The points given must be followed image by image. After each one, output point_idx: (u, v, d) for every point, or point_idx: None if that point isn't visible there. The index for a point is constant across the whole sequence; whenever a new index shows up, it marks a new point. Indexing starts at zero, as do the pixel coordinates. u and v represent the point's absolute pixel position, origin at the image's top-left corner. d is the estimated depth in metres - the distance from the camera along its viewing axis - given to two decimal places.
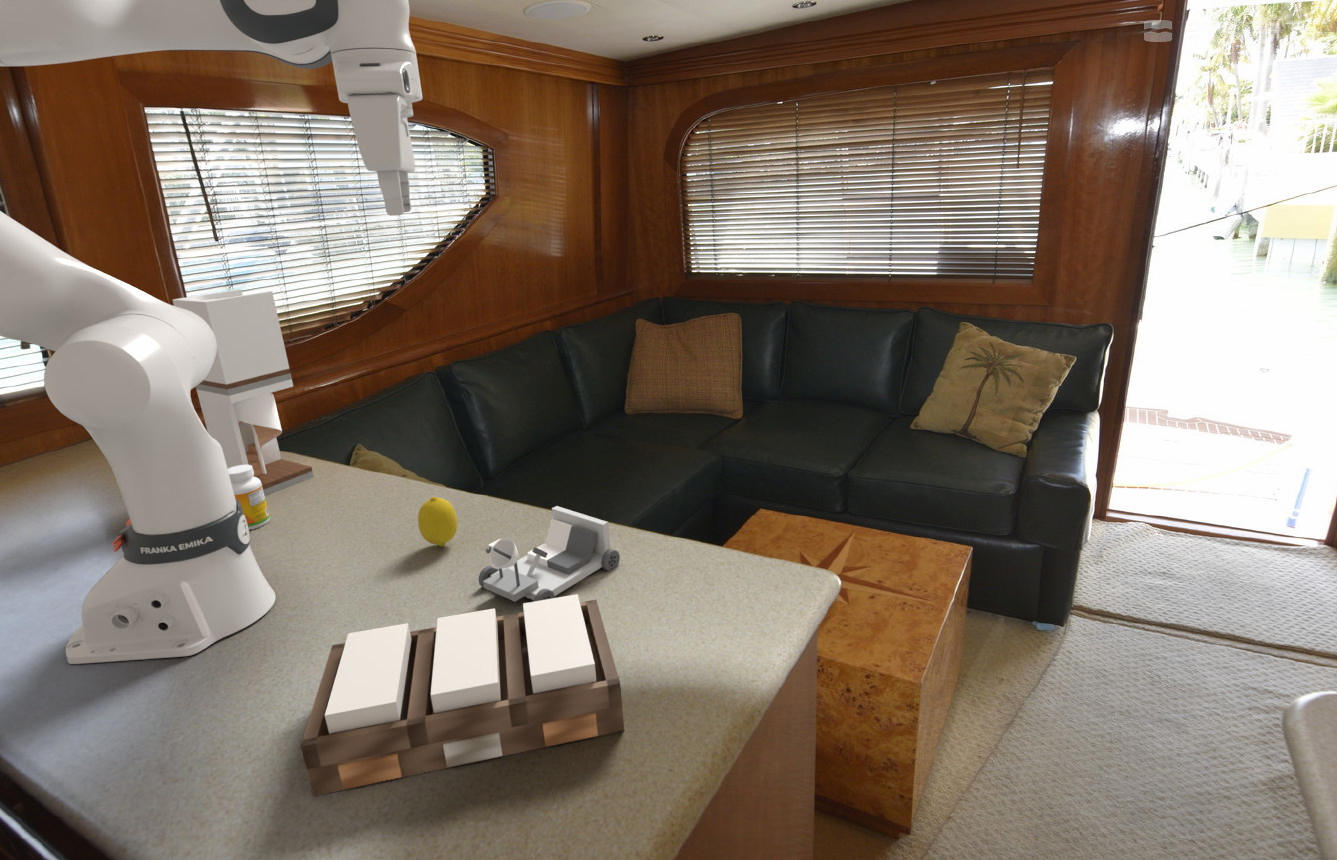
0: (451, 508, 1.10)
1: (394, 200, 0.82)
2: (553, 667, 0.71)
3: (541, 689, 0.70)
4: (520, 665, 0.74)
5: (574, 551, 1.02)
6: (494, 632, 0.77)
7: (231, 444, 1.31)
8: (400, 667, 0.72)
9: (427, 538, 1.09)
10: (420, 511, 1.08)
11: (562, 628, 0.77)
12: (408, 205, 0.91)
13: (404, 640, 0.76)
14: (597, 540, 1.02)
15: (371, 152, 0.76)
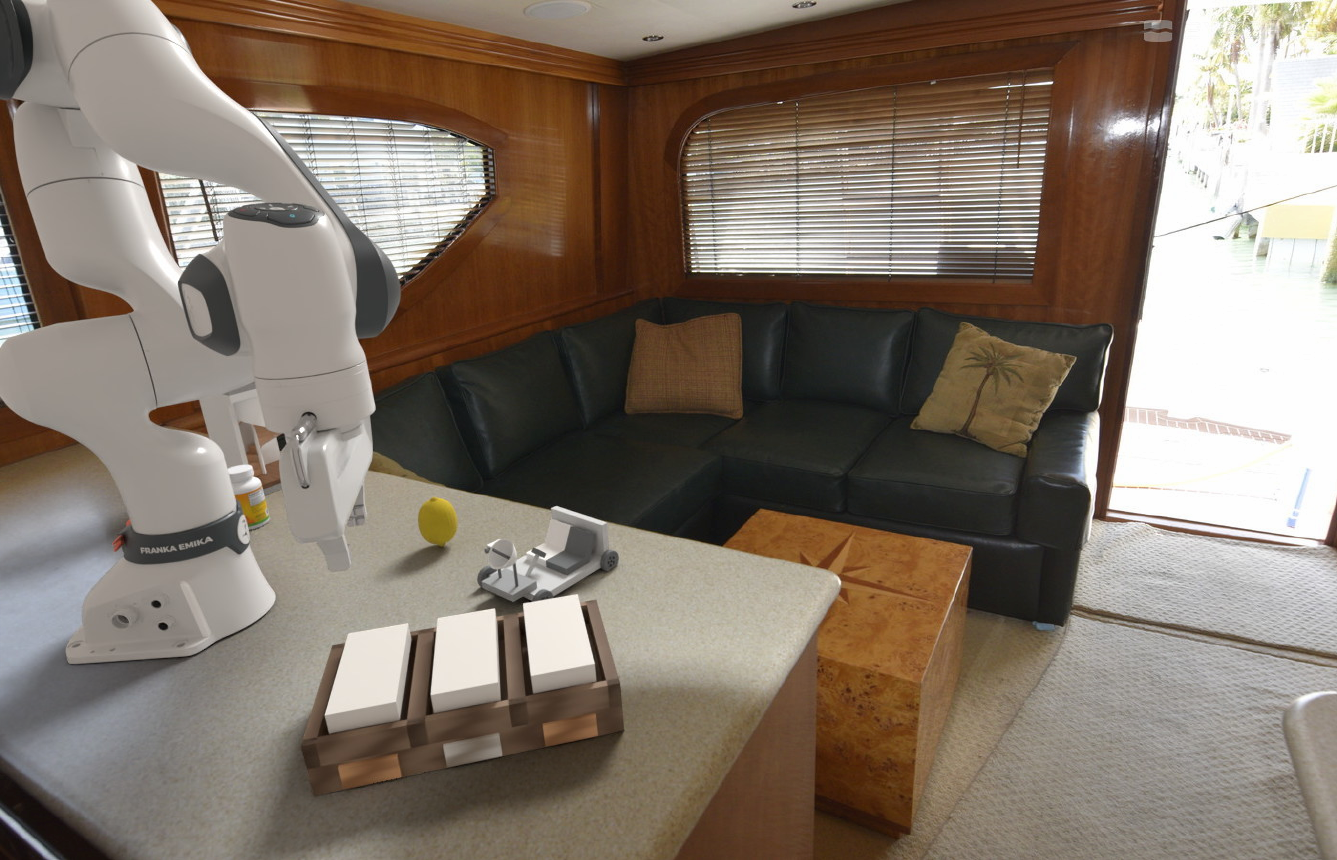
0: (451, 508, 1.10)
1: None
2: (553, 667, 0.71)
3: (541, 689, 0.70)
4: (520, 665, 0.74)
5: (573, 552, 1.02)
6: (494, 632, 0.77)
7: (231, 444, 1.31)
8: (400, 667, 0.72)
9: (427, 538, 1.09)
10: (420, 511, 1.08)
11: (562, 628, 0.77)
12: None
13: (404, 640, 0.76)
14: (596, 540, 1.02)
15: None
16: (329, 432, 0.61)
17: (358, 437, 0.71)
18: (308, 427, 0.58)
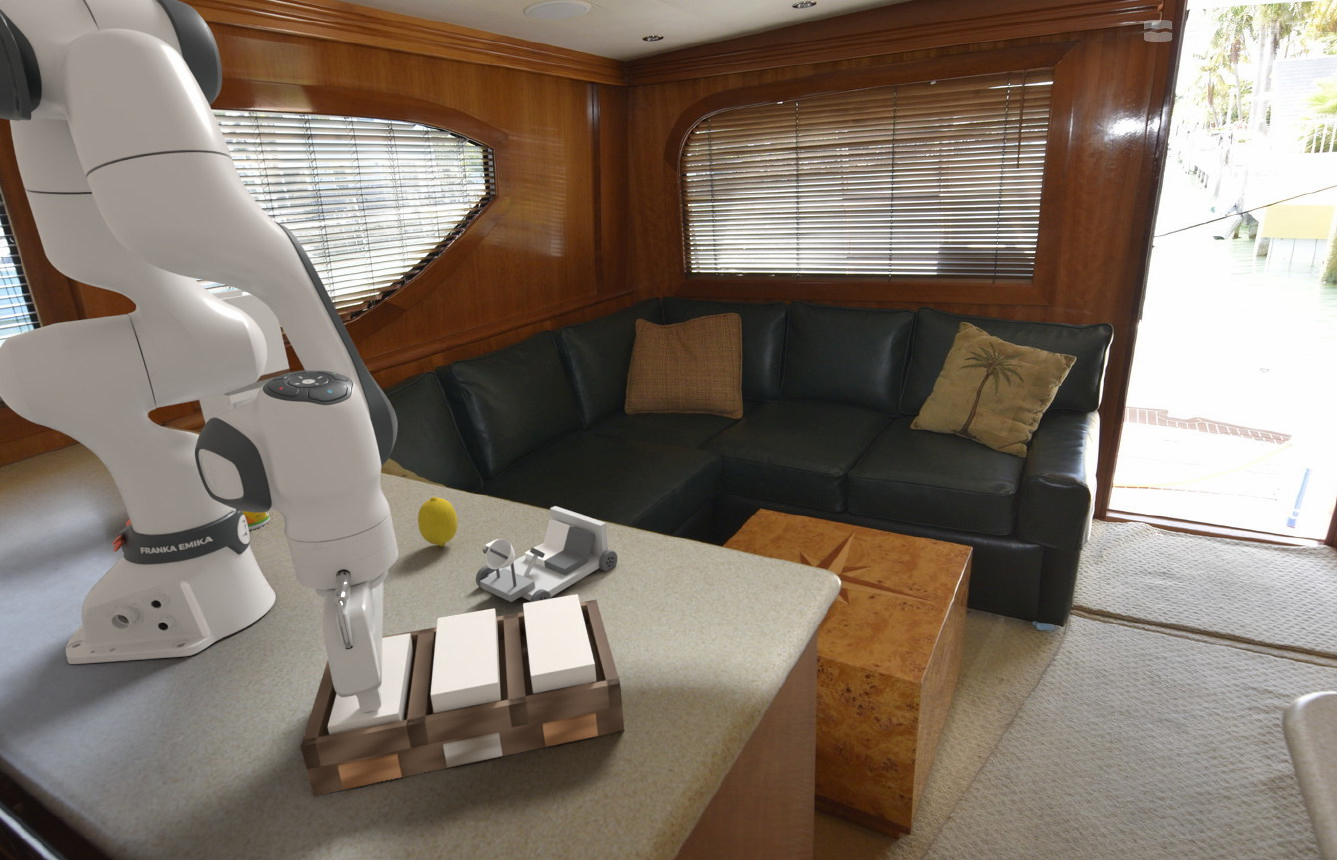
0: (451, 508, 1.10)
1: None
2: (553, 667, 0.71)
3: (541, 689, 0.70)
4: (520, 665, 0.74)
5: (571, 552, 1.02)
6: (494, 632, 0.77)
7: None
8: (402, 678, 0.72)
9: (427, 538, 1.09)
10: (420, 511, 1.08)
11: (562, 628, 0.77)
12: None
13: (406, 650, 0.76)
14: (595, 541, 1.02)
15: None
16: (362, 586, 0.65)
17: None
18: (347, 589, 0.62)
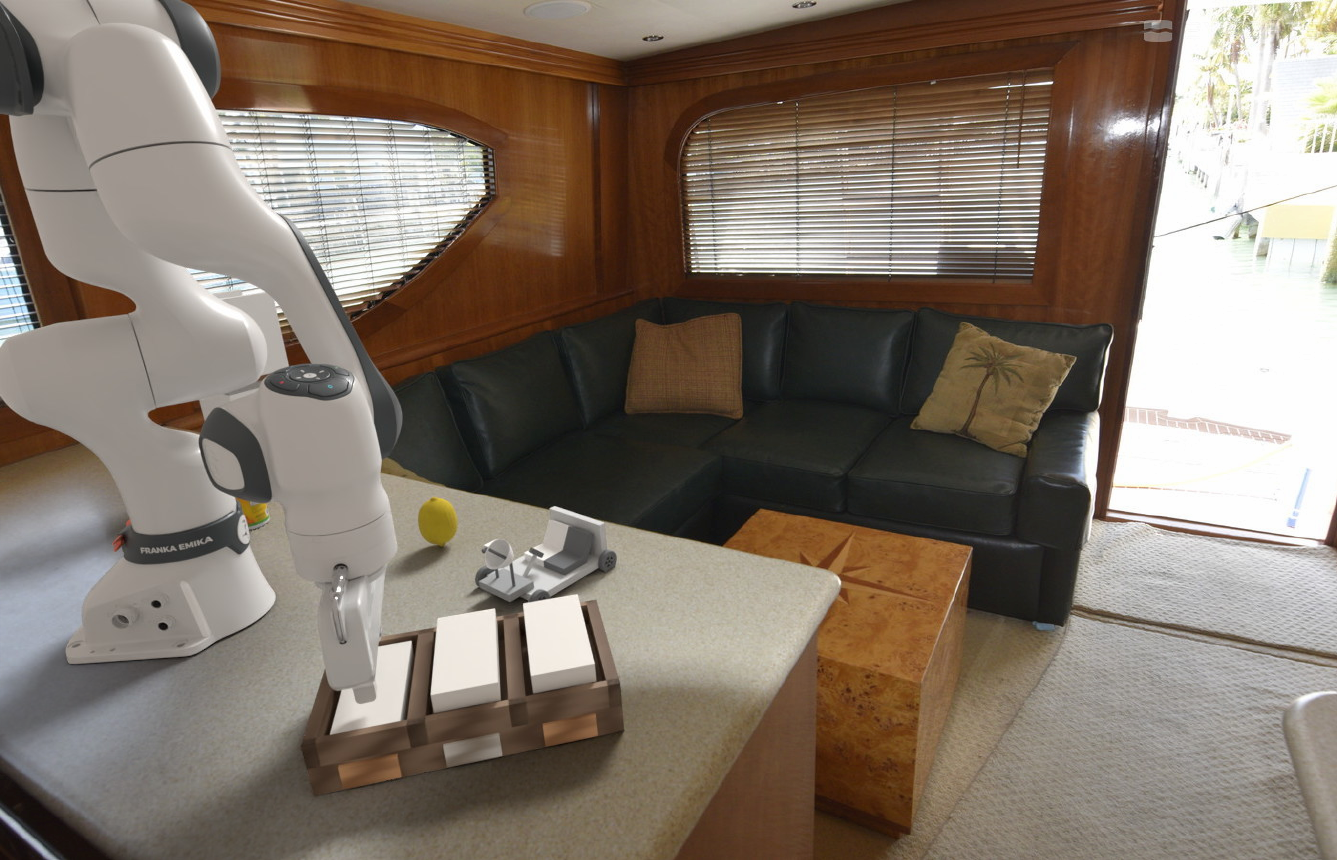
0: (451, 508, 1.10)
1: None
2: (553, 667, 0.71)
3: (541, 689, 0.70)
4: (520, 665, 0.74)
5: (570, 552, 1.02)
6: (494, 632, 0.77)
7: None
8: (404, 686, 0.72)
9: (427, 538, 1.09)
10: (420, 511, 1.08)
11: (562, 628, 0.77)
12: None
13: (408, 658, 0.77)
14: (594, 541, 1.02)
15: None
16: (359, 581, 0.65)
17: None
18: (343, 584, 0.62)
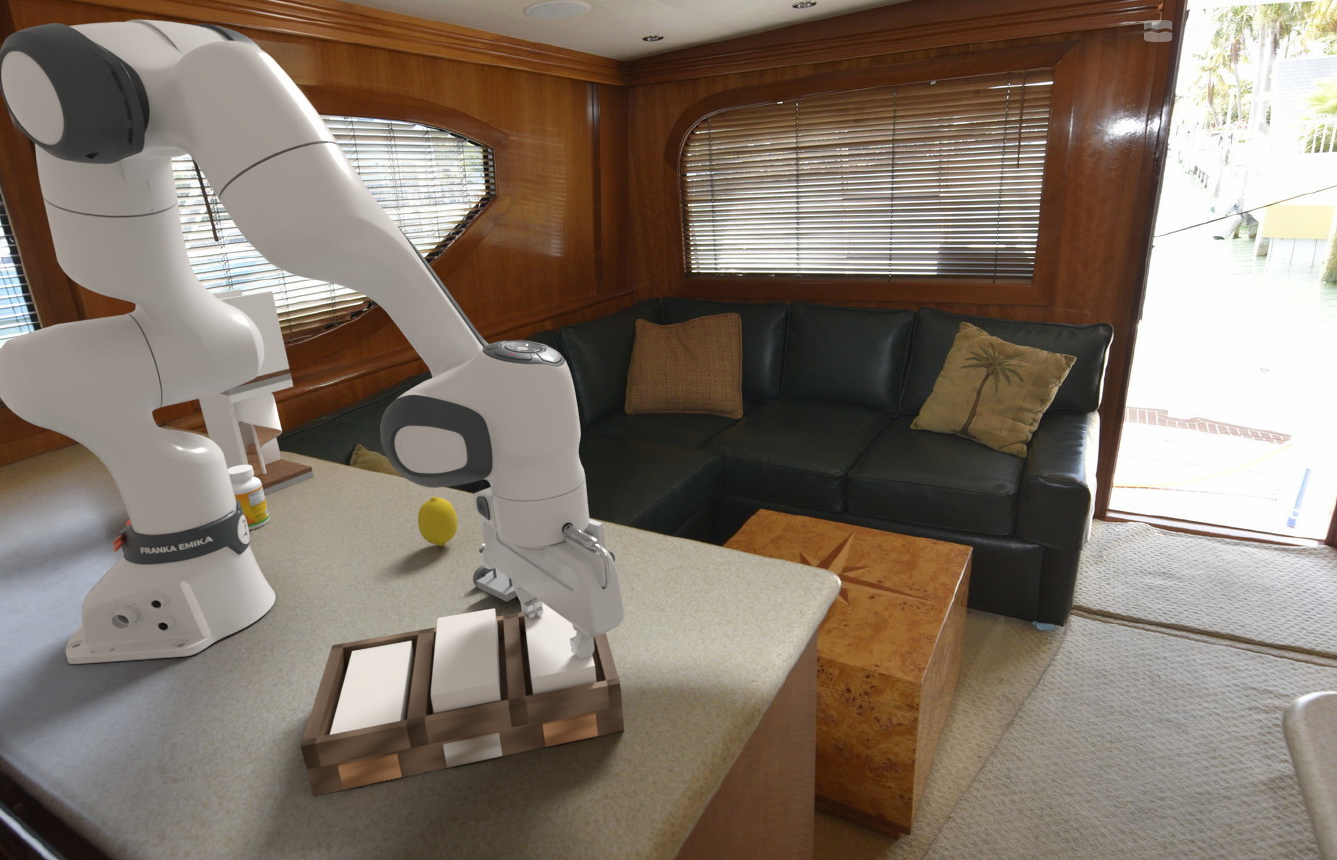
0: (451, 508, 1.10)
1: None
2: (553, 669, 0.71)
3: (541, 691, 0.70)
4: (520, 665, 0.74)
5: None
6: (494, 632, 0.77)
7: (231, 444, 1.31)
8: (404, 686, 0.72)
9: (427, 538, 1.09)
10: (420, 511, 1.08)
11: (562, 630, 0.77)
12: None
13: (408, 658, 0.77)
14: None
15: None
16: None
17: None
18: None
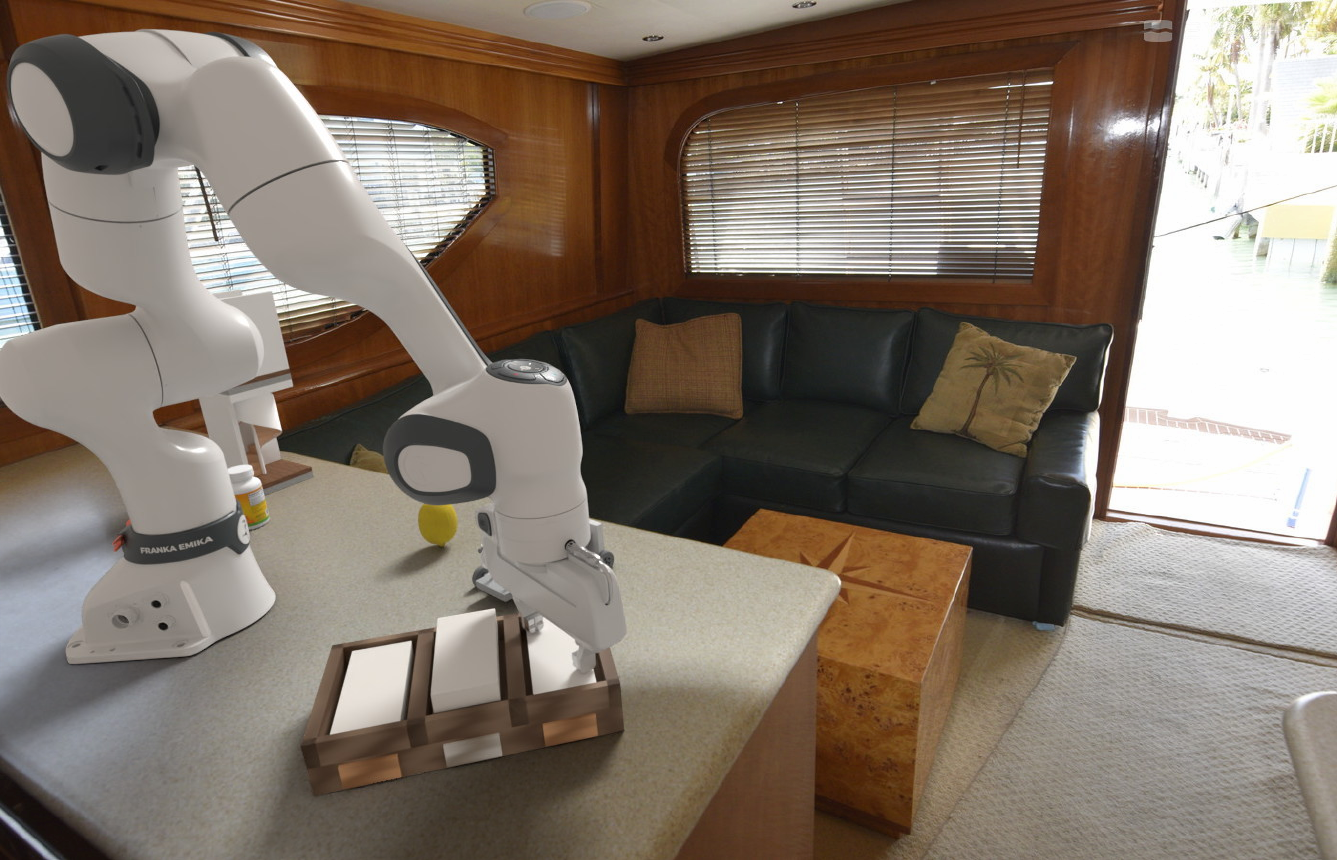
0: (451, 508, 1.10)
1: None
2: (555, 686, 0.71)
3: None
4: (520, 665, 0.74)
5: None
6: (494, 632, 0.77)
7: (231, 444, 1.31)
8: (404, 686, 0.72)
9: (427, 538, 1.09)
10: (420, 511, 1.08)
11: (564, 646, 0.77)
12: None
13: (408, 658, 0.77)
14: (591, 541, 1.02)
15: None
16: None
17: None
18: None
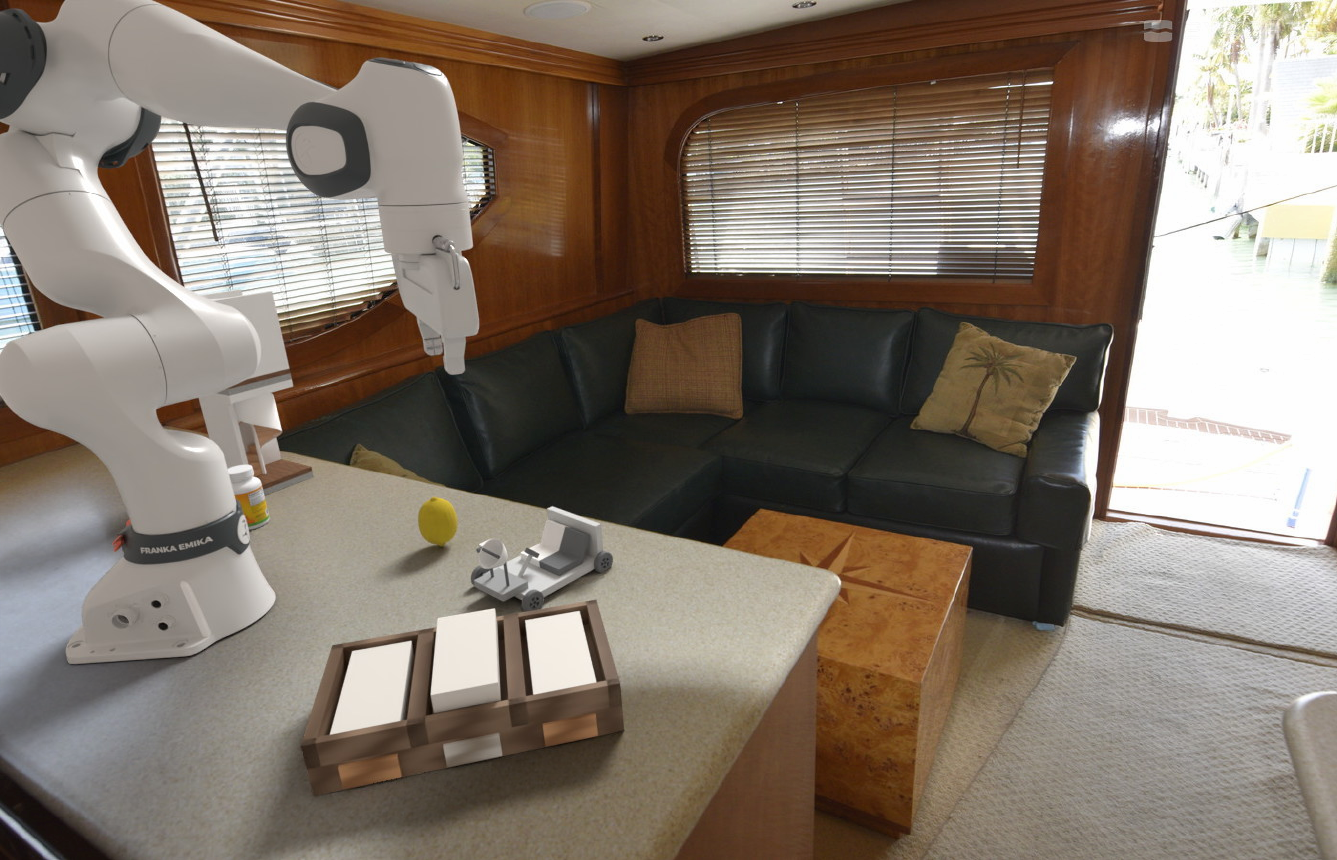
0: (451, 508, 1.10)
1: None
2: (555, 686, 0.71)
3: None
4: (520, 665, 0.74)
5: (566, 553, 1.02)
6: (494, 632, 0.77)
7: (231, 444, 1.31)
8: (404, 686, 0.72)
9: (427, 538, 1.09)
10: (420, 511, 1.08)
11: (564, 646, 0.77)
12: None
13: (408, 658, 0.77)
14: (590, 542, 1.02)
15: None
16: None
17: None
18: None
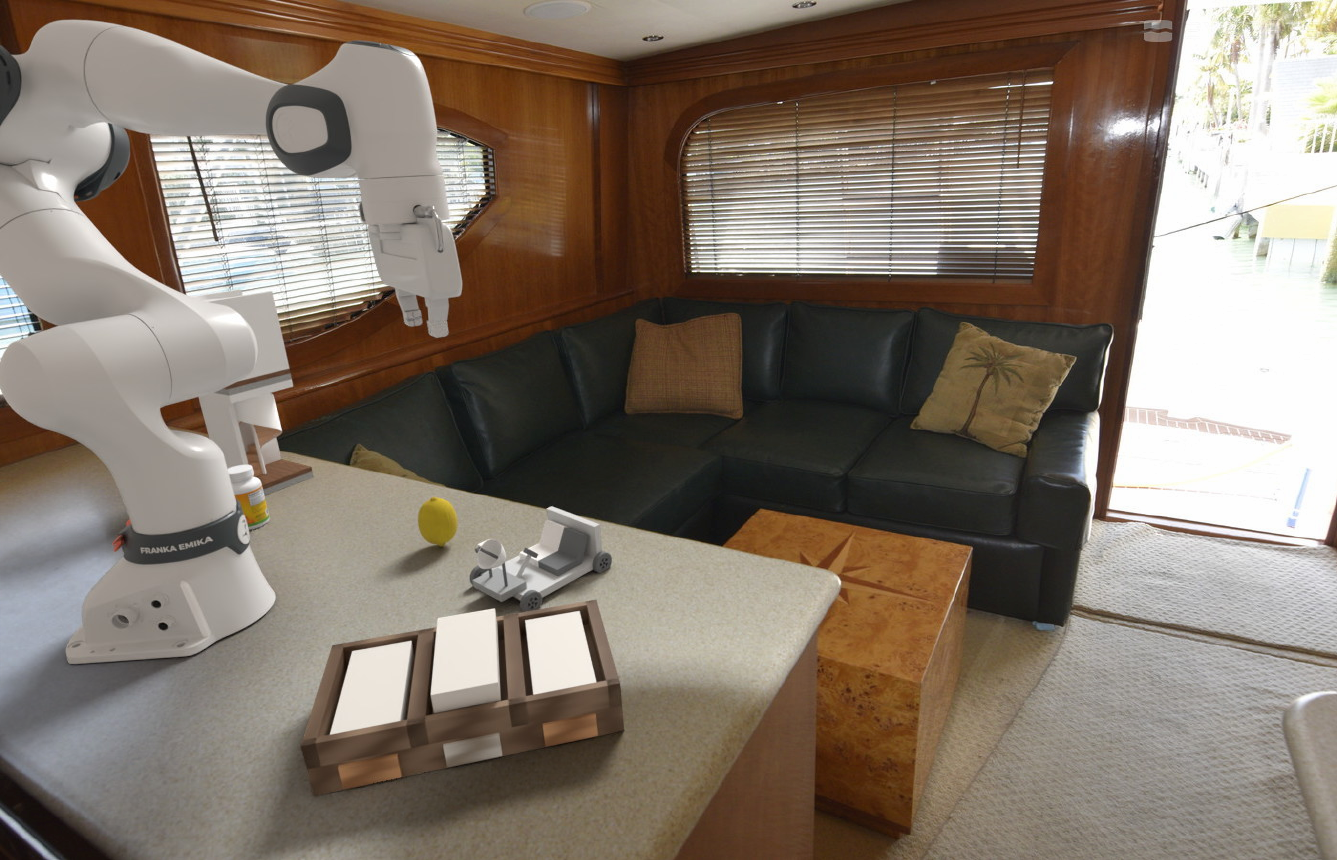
0: (451, 508, 1.10)
1: None
2: (555, 686, 0.71)
3: None
4: (520, 665, 0.74)
5: (565, 553, 1.02)
6: (494, 632, 0.77)
7: (231, 444, 1.31)
8: (404, 686, 0.72)
9: (427, 538, 1.09)
10: (420, 511, 1.08)
11: (564, 646, 0.77)
12: None
13: (408, 658, 0.77)
14: (589, 542, 1.02)
15: None
16: None
17: None
18: None
